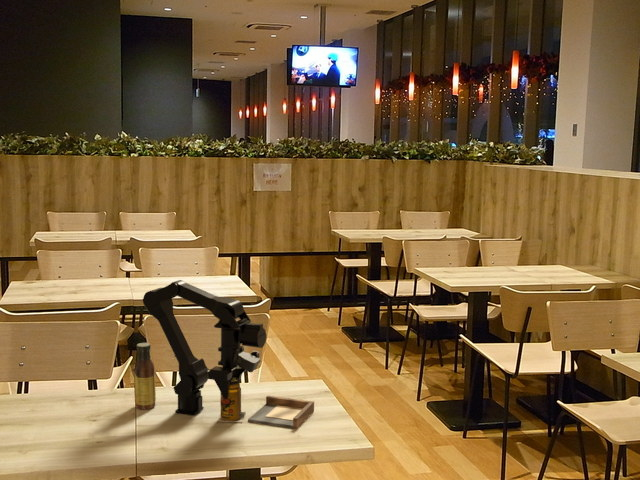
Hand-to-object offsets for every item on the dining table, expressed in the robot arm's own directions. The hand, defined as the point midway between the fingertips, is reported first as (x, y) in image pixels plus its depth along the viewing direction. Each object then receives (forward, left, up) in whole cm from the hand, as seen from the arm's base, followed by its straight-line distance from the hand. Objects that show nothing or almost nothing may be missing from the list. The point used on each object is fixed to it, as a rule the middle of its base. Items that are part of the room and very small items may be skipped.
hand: (230, 395), depth 233 cm
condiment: (0, +1, -7) cm, 7 cm away
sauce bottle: (-28, -1, -7) cm, 29 cm away
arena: (+13, +6, -7) cm, 16 cm away
